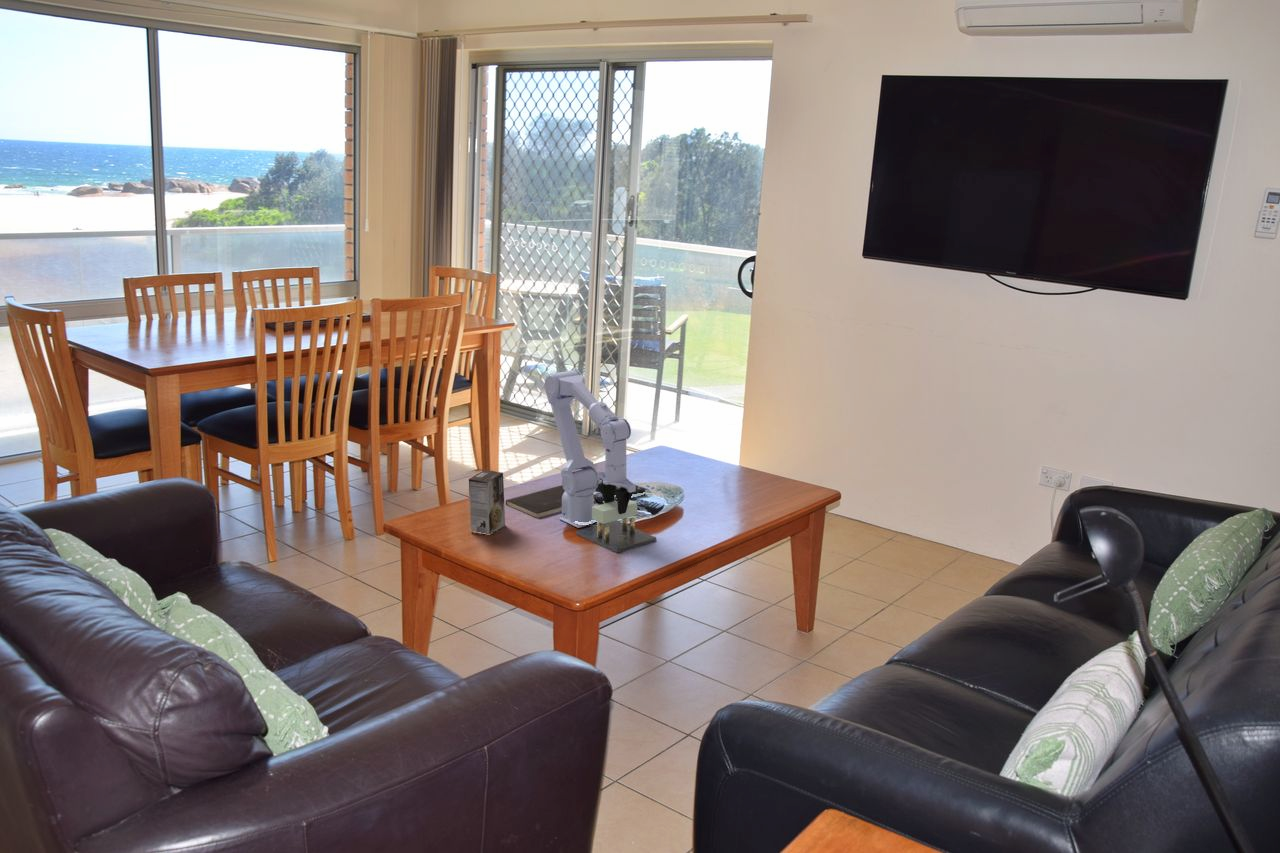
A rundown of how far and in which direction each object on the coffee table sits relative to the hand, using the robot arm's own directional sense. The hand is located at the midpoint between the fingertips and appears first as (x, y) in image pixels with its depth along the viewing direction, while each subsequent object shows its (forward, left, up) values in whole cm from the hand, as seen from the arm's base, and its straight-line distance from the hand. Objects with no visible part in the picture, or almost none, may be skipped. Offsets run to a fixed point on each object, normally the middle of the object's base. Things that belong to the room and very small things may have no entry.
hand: (615, 510), depth 284 cm
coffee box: (-28, -24, -8) cm, 38 cm away
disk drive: (-30, +25, -9) cm, 40 cm away
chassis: (0, 0, -8) cm, 8 cm away
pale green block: (0, 0, -2) cm, 2 cm away
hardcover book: (-35, +3, -9) cm, 36 cm away
